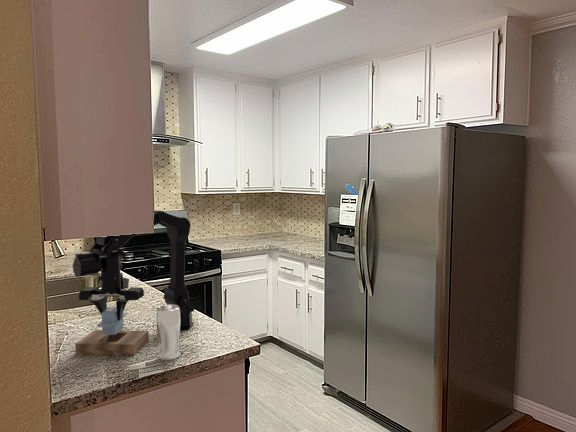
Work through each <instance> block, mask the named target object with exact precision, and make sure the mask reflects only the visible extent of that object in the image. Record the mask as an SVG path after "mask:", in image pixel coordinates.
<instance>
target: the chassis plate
mask: <svg viewBox="0 0 576 432" xmlns="http://www.w3.org/2000/svg"><path fill="white" fill-rule="evenodd" d="M149 338H150V337H149V330H125V329H124V330H123V329H122V330H121V331H119V332H118V333H117V334H116V335H103V334H102V329H95V330H93V331H92V332H90V333H88V334H87V335H86V336H84V337H83V338H81V339H79V341H77V342H76V343H74V345H75V346H74V348H75V355H76V356H114V355H120V356H122V357H123V356H124V355H128V356H127V357H129V356H131V357H134V356H135V355H136V354H138V352H139V351H140V350H141V349H142V348H144V347H145V345H147V343H148V342H149V340H150V339H149Z"/></svg>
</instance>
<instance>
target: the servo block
mask: <svg viewBox="0 0 576 432" xmlns="http://www.w3.org/2000/svg"><path fill="white" fill-rule="evenodd" d="M126 316H128V313H127V312H123V314H122V318H121V320H120V321H118V318H117V308H116V306H110V307H109V306H108V307H107V308H106V310H105V311H103V312H102V315H101V322H99V323H97V325H96V328H102V329H101V330H102V334H103V335H116V334H117V333H118V332H119V331H121V330H123V329H124V327H125V326H124V318H125V317H126Z"/></svg>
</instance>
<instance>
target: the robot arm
mask: <svg viewBox="0 0 576 432" xmlns="http://www.w3.org/2000/svg"><path fill="white" fill-rule="evenodd" d="M153 211H154V226H153V227H155V226H157V225H160V226H162V227H163V228H166V235H167V237H168V240H169V241H170V263H169V264H170V269H169V270H170V271H169V273H170V275H169V277H170V280H169V283H168V285H167V287H163V297H162V299H163V300H164V303H165V305H168V304H174V305H178V306H179V309H180V320H181V323H180V331H181V330H182V331H183V330H185V331H188V330H190V329H191V328H192V326H193V325H194V322H193V312H194V311H195V309H196V304H195V303H193V302H192V300H190V298H189V297H190V296H189V290H188V287H187V286H186V283H185V262H186V261H185V259H186V257H185V256H186V241H187V240H188V237H190V230H191V221H190V220H189V219H188V218H186V217H183V216H176V215H172V214H169V213H168V212H165V211H164V210H153ZM137 235H138V234H132V235H120V236H107V237H97V236H96V239H95V240H96V241H95V242H94V244H93V245H92V246H91V248H90V250H89V251H88V252H86V253H75V258H74V260H73V263H72V271H73V275H74V276H75V277H76V278H80V277H86V276H92V275H97V274H99V272H100V276H99V275H98V281H100V286H101V288H99V287H98V286H87V287H85V288H82V289H81V290H80V291H78V300H79V301H89V299H90V298H91V300H90V301H89V302H90V304H93V305H94V307H95V308H96V309H97V310H98V312H99V313H100V315H101V316H102V312H103V311H105V310H106V308H108V305H107V301H108V297H118V298H119V299H118V300H115V304H116V306H115V307H116V308H117V318H118V321H120V320H121V318H122V314H123V313H124V311H125V307H126V305H127V303H128V302H130V301H138V300H140V299H141V298H143V297H144V296H145V290H144V288H143V287H138V286H134V287H133V286H132V287H129V283H130V278H127V277H124V275H123V272H121V257H126V256H127V253H126V252H125V251H124V250H123V249H122V247H124V245H126V244H127V243H128V242H129V240H130V239H132V238H134V237H135V236H137ZM124 289H125V290H124Z"/></svg>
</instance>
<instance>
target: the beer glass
mask: <svg viewBox="0 0 576 432" xmlns="http://www.w3.org/2000/svg"><path fill="white" fill-rule="evenodd" d="M155 320H156V321H155V322H156V323H155V325H156V332H157V336H158V341H159V354H158V358H159V360H161V361H173V360H176V359H178V358H180V356H181V353H180V348H179V341H180V340H179V338H180V333H181V332H180V331H181V330H180V323H181V320H180V309H179V306H178V305H174V304H168V305H167V304H162V305H159V306H157V307H156V315H155Z"/></svg>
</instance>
